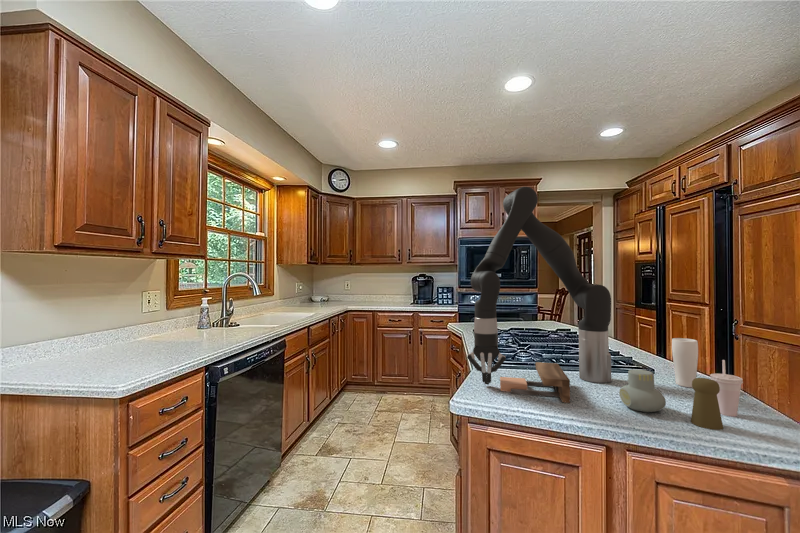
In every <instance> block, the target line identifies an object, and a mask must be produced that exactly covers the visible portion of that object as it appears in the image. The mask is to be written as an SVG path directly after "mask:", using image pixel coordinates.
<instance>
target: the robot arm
mask: <svg viewBox="0 0 800 533" xmlns="http://www.w3.org/2000/svg"><path fill="white" fill-rule="evenodd" d="M538 199H539V198H538V194H537V192H536V191H535V190H534V188H532V187H530V186H522V187H519V188H516V189H514V190H513V191H511V192H510V193H509V194H507V195H506V196H505V197H504V199H503V201H502V205H503V209H504V213H506V215H507V217H506V219H505V221H504V222H503V224H502V226H501V227H500V228H499V230H498V231H497V232H496V234H495V235H494V237H493V238H492V240H491V243H490V244H489V246H488V248H487V250H486V253H485V254H484V257H483V259H481V261H480V262H479V264H478V265H476V267H475V269H474V271H473V273H472V274H471V277H470V286H471V288H472V289H473V290H474V291H475V292H478V293H480V297H479V298H480V299H477V300H476V301H475V302H474V322H473V323H474V324H473V334H474V337H473V338H474V339H473V340H474V347H473V349H472V352H470V353H467V357H466V358H467V359H468V361H469V362H470V363H471V364H472V366H473V367H474V368H475V370H476V371H478V372H481V375H482V377H481V378H482V383H484V385H490V384H491V383H492V373H494V372H497V371H498V369H499V368H500V367H501V366H502V365H503V363H504V362H505V361H506V360H507V358H506V355H504V354H502V353H501V352H500V349H499V344H498V343H499V342H498V341H499V340H498V335H499V334H498V331H499V330H498V328H499V327H498V321H497V303H498V300H499V296H500V291H501V280H500V277H499V275H498V274H497V273H496V272H497V271H498V270H500V269H502V268H503V267H504V266H505V264H506V262H507V260H508V257H509V255H510V253H511V251H512V249H513V246H514V244H515V243H516V240H517V239H518V236H519V235H520V233H521V231H522V232H523V233H524V234H525V236H526V237H527V238H528V240H529V241H530V242H531V243H532V245H533V246H534V247H535V249H536V250H537V251H538V253H539V254H540V255H541V257H542V258H543V259H544V261H545V263H546V264H547V265H548V266H549V267H550V268H551V269H552V271H553V272H554V274H556V276H557V277H558V278H559V280H560V281H561V282H562V284H563V285H564V287H565V289H566V290H567V292H568V293H569V296H570V297H571V298H572V300H573V301H574V303H575V304H576V305H577V307H579V308H581V309H583V310H584V315H583V318H582V319H580V320H579V321H578V323H577V324H578V367H579V369H578V372H579V373H578V374H579V379H581V380H583V381H585V382H586V381H587V382H590V383H612V355H611V353H610V352H609V350H610V348H609V345H610V343H609V326H610V323H611V320H612V296H611V292H610V291H609V289H608V288H607V287H606V286H605V285H602V284H595V283H594V284H593V283H590V282H589V281H587V279H586V278H585V277H584V275H583V274H582V273H581V272H580V270H579V268H578V267H577V266H578V265H577V262H576V258H575V254H574V252H573V250H572V248H571V246H570V245H569V244H568V243H567V241H566V240H565V239H564V237H563V236H562V235H561V234H559V232H557V231H555V230H554V229H552V228H551V227H549V226H548V225H546V224H545V223H543V222H541V221H540V220H539V219H538V218H537V216H536V215H535V214H534V213H533V211H534V210H535V209H536V208H537V205H538V201H539V200H538ZM475 358H477V360H478V361H479V362H480V364H479V363H478V362H477V360H476V359H475ZM496 359H497V361H496V363H495V364H494V365H493V366H492V363H493V362H494V361H495V360H496ZM486 363H487V367H486ZM486 368H487V369H486Z"/></svg>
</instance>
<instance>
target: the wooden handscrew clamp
mask: <svg viewBox="0 0 800 533" xmlns="http://www.w3.org/2000/svg"><path fill="white" fill-rule="evenodd" d="M535 369H536V372H537V374H538V376H539V378H540V381H534V380H533V381H531V380H526V382H527V386H531V387H545V388H553V390H554V391H550V390H537V389H527V390H524V389H511V392H510V394H515V395H525V396H528V395H529V396H539V395H541V396H542V397H553V396H555V397H557V398H560V400H561V402H562V403H563V402H564V404H565V403H566V404H571V380H570V378H569V377H568V376H567V374H566V373H565V371H564V370H563V369H562V368H561V366H560V365H559V363H557V362H556V363H555V362H540V361H539V362H537V361H536V362H535ZM541 396H540V397H541Z"/></svg>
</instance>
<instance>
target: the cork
mask: <svg viewBox="0 0 800 533" xmlns="http://www.w3.org/2000/svg"><path fill="white" fill-rule="evenodd" d="M692 389H693V391H694V393H693V394H694V396H693V403H692V409H691V417H690V423H692V425H694V426H697V427H699V428H704V429H707V430H712V431H713V430H715V431H721V430H723V429H724V425H723V420H722V414H720V408H719V403H718V398H717V394H718V393H719V391H720V387H719V384H718V383H717V382H716V381H714V380H712V379H710V378H705V377H696V378H695V379H694V380H693V381H692Z"/></svg>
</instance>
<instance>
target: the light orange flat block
mask: <svg viewBox="0 0 800 533" xmlns="http://www.w3.org/2000/svg"><path fill="white" fill-rule="evenodd" d="M526 381H527V380H526V378H525V377H524V378H523V377H509V376H500V377H499V383H500V384H499V386H500V392H510V393H511V389H524V390H528V385H527V382H526Z"/></svg>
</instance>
